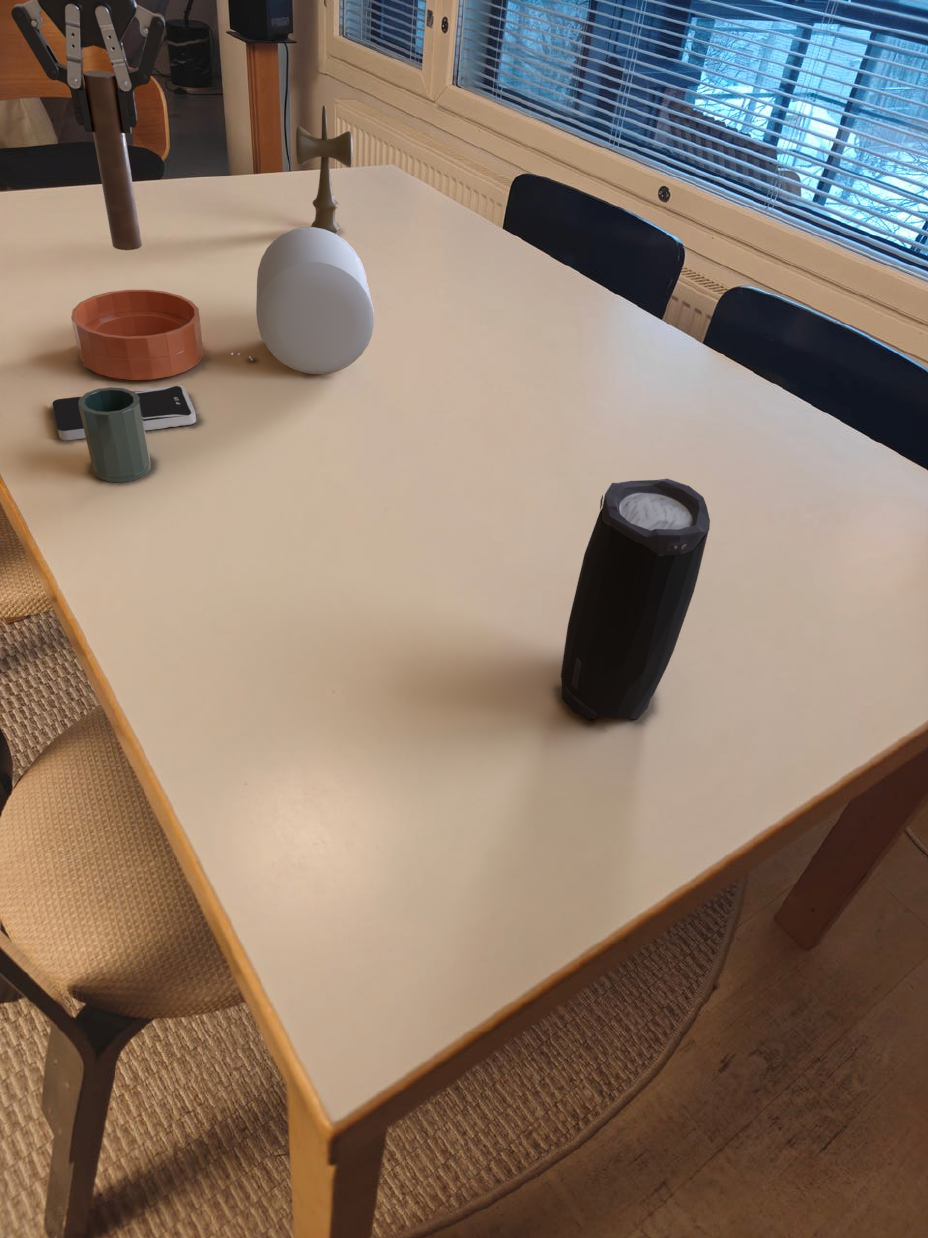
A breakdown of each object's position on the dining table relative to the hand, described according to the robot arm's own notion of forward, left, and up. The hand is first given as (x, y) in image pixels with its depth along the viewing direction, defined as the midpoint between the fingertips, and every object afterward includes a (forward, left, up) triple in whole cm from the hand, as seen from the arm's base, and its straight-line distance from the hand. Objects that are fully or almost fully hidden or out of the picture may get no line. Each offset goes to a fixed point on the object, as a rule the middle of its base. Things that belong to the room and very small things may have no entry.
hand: (108, 130), depth 86 cm
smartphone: (-3, -5, -29) cm, 30 cm away
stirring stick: (0, 0, -11) cm, 11 cm away
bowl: (-1, +11, -29) cm, 31 cm away
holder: (-3, -16, -29) cm, 33 cm away
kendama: (+30, +61, -29) cm, 74 cm away
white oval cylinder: (+20, +15, -29) cm, 39 cm away
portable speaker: (+37, -57, -29) cm, 74 cm away
